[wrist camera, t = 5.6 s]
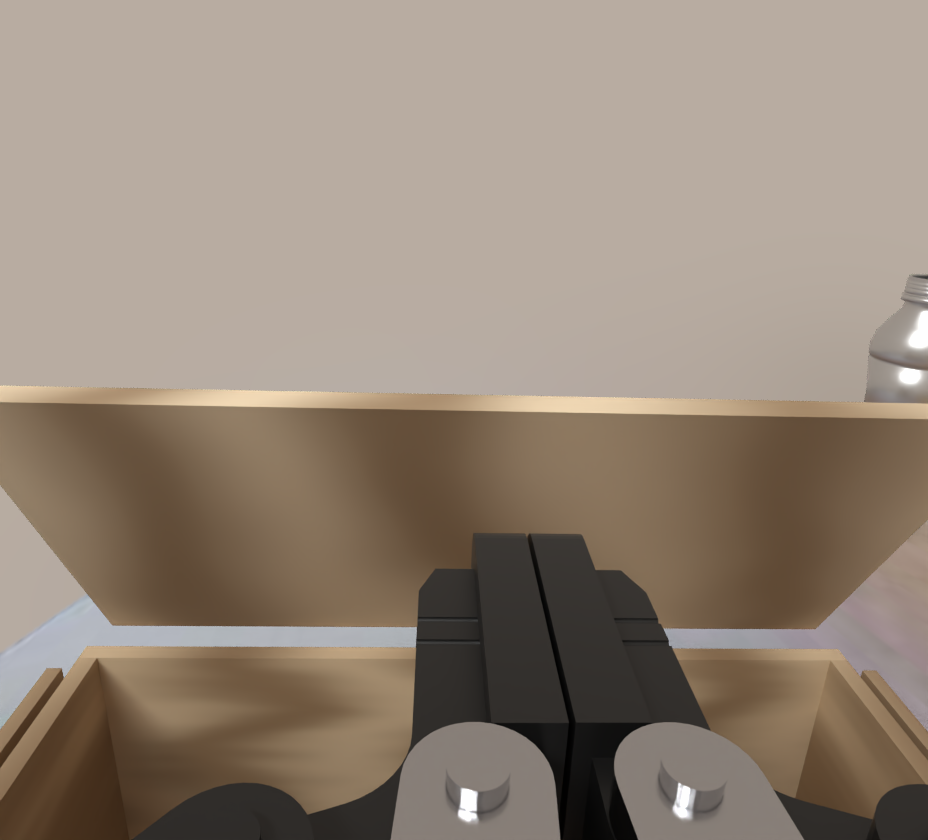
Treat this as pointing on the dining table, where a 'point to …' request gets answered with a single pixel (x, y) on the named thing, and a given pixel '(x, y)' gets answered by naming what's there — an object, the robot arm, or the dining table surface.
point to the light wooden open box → (385, 730)
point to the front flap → (456, 498)
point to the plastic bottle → (901, 350)
